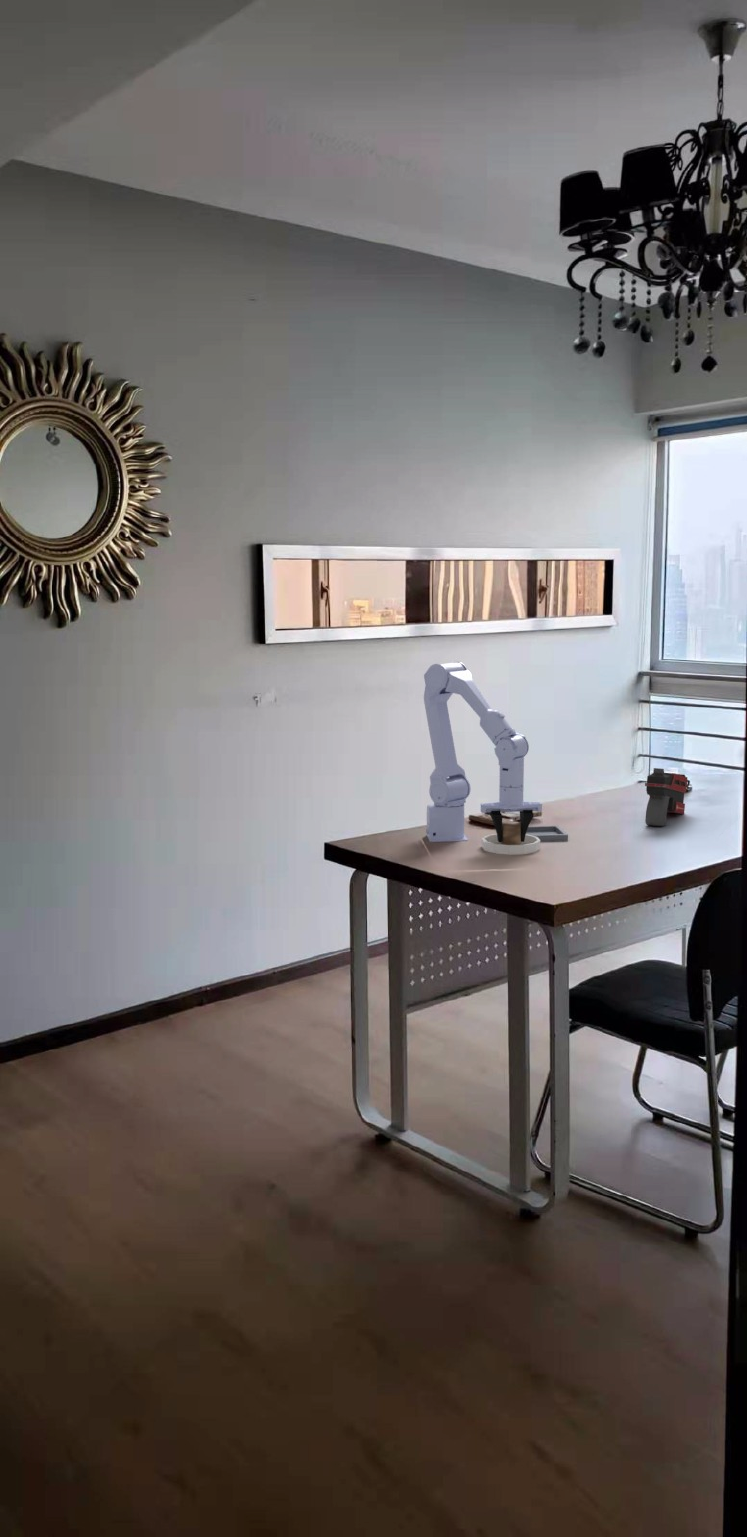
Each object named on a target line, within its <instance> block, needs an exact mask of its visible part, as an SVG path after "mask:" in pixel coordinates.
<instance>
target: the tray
mask: <svg viewBox="0 0 747 1537" xmlns="http://www.w3.org/2000/svg"><path fill="white" fill-rule="evenodd" d="M526 834H528V835H532V836H536V837H538V838H539V839H540V842H559V841H565V842H566V841H569V835H568V833H567V832H566V831H564V830H563V829H562V828H561V827H560V826H559V825H531V826H530V825H529V826H528V829H527V832H526Z"/></svg>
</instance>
